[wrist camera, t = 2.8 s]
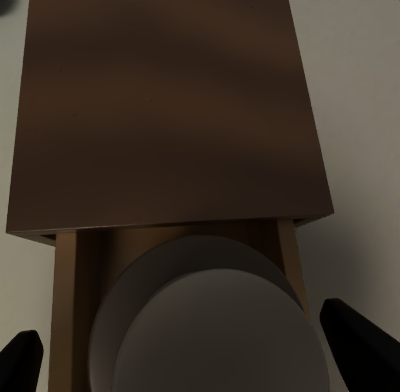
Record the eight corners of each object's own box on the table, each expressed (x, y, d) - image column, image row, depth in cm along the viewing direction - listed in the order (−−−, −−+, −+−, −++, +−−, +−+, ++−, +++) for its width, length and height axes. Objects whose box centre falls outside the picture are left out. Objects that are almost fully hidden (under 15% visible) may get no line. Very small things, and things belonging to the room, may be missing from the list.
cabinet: (269, 237, 19) (335, 213, 12) (72, 251, 17) (4, 233, 10) (242, 57, 23) (279, -45, 16) (79, 54, 21) (35, -63, 14)
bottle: (226, 345, 15) (429, 571, 3) (137, 355, 14) (27, 675, 3) (217, 256, 16) (346, 208, 5) (135, 263, 16) (53, 224, 4)
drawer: (293, 429, 15) (367, 516, 10) (71, 467, 14) (7, 596, 8) (256, 173, 19) (294, 131, 14) (80, 180, 18) (41, 135, 12)
